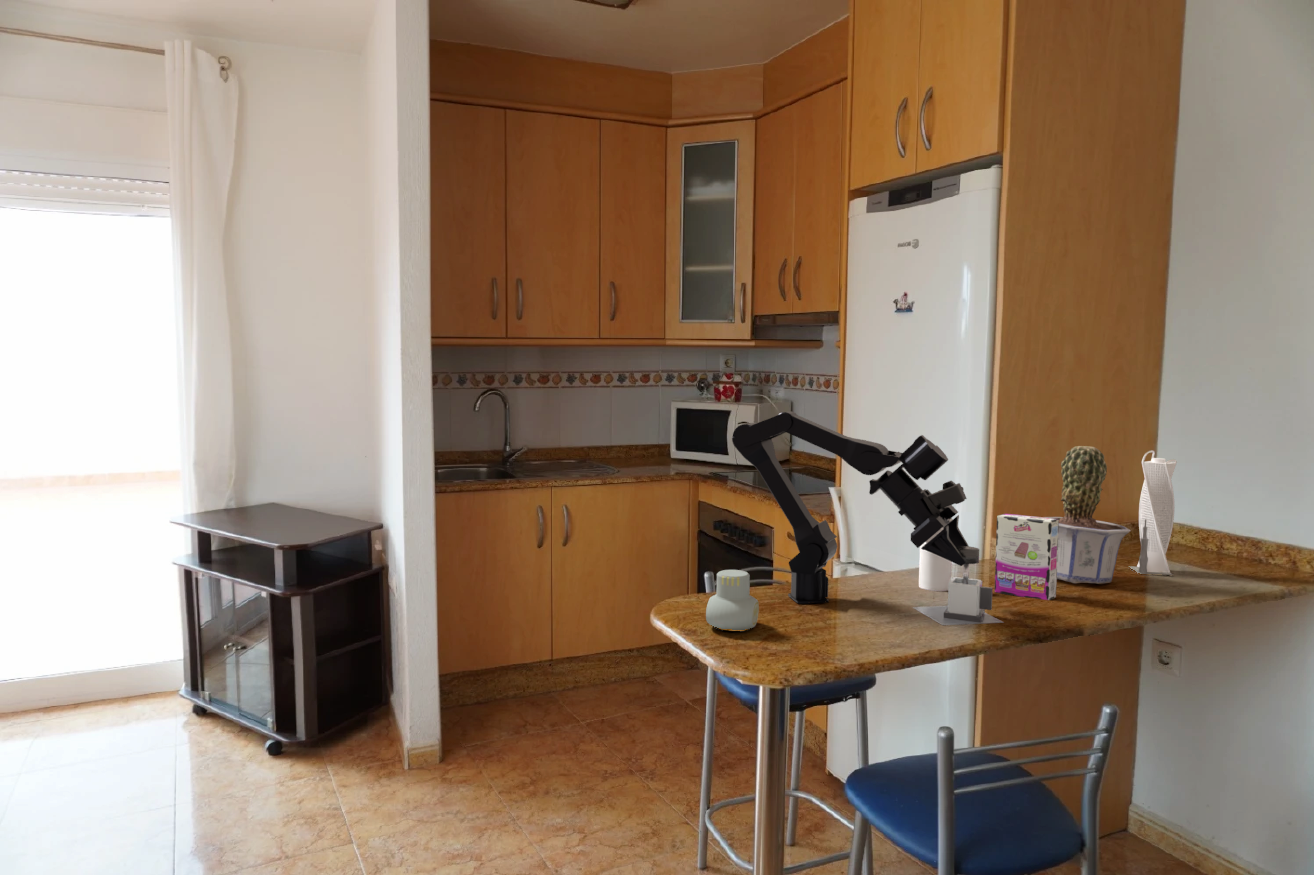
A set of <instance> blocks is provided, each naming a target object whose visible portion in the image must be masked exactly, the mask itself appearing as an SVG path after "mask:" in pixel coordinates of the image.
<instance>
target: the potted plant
mask: <svg viewBox="0 0 1314 875" xmlns="http://www.w3.org/2000/svg"><path fill="white" fill-rule="evenodd" d="M1065 454H1066V455H1065V457H1064V458H1063V459H1062V461H1061V462H1060V467H1061V471H1060V472H1061V477H1062V481H1063V482H1062V488H1061V499H1060V502H1062V504H1063V513H1064V516H1063V517H1062V516H1043V518H1051V519H1059V527H1058V554H1057V580H1060V581H1065V582H1069V583H1072V584H1080V583H1088V584H1097V585H1104V584H1108V583H1110V584H1111V583H1112V580H1113V576H1114V571H1115V567H1116V563H1117V557H1118V553H1119V549H1120V546H1121V542H1122V540H1123V538H1124V537H1125V536H1126V535H1127V534H1129V533H1130V532H1131V531H1132V530H1131V529H1130V528H1128V527H1126V526H1124V525H1121V524H1118V523H1113V522H1107V521H1104V520H1096V519H1095V518H1093V515H1094V514H1095V512H1096V509H1097V506H1098V505H1099V503H1100V502H1101V492H1102V491H1104V490H1103V488H1102V485H1103V483H1104V481H1105V479H1106V476H1107V469H1108V466H1107V463H1106V461H1105V454H1103V453H1102V452H1101V450H1100V449H1099V448H1096V447H1095V446H1089V445H1088V446H1087V445H1085V446H1084V445H1078V446H1074V447H1071V449H1070V450H1067V451H1066V453H1065Z"/></svg>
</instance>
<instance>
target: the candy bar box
mask: <svg viewBox="0 0 1314 875" xmlns="http://www.w3.org/2000/svg"><path fill="white" fill-rule="evenodd" d="M1043 517H1044V516H1043ZM1043 517H1041V516H1033V515H1031V516H1030V515H1022V514H1014V513H1012V514H1011V513H1003V514H999V515H997V517H996V534H995V536H996V538H995V565H994V566H995V568H994V570H995V571H994V574H995V575H994V593H998V594H1002V595H1007V596H1013V595H1014V596H1015V597H1020V598H1027V599H1036V600H1045V601H1051V600H1054V599H1055V598H1056V597H1057V582H1058V581H1057V580H1058V579H1057V554H1058V527H1059V519H1051V518H1043Z"/></svg>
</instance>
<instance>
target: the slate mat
mask: <svg viewBox="0 0 1314 875" xmlns="http://www.w3.org/2000/svg"><path fill="white" fill-rule="evenodd" d="M947 607H948V605H932V606H930V605H928V606H913V607H912V606H911V608H912V609H914V610H915V611H918V612H919V613H921V614H923V616H926V617H927V618H929V619H931V620H933V621H934V622H936V623H938V624H940V625H941V626H959V625H960V626H961V625H981V624H998V623H999V624H1000V623H1001V624H1002V623H1005V622H1004V621H1002V620H1000V619H998V618H996V617H994V616H993V615H991V614H989V613H987V612H985V614H984V616H983V618H982V620H981V622H972V621H965V620H957V619H949V618H944V611H945V610H946V608H947Z"/></svg>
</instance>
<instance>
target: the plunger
mask: <svg viewBox="0 0 1314 875" xmlns="http://www.w3.org/2000/svg"><path fill="white" fill-rule="evenodd" d="M956 548H957V550H958V551H959V553H960V554H961V556H962V557H963V559H964V560H965V564H964V565H962V578H963V584H968V579H970V578H969V573H970V565H975V564H979V563H980V548H978V547H976V546H975V547H974V546H957V547H956Z"/></svg>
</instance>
